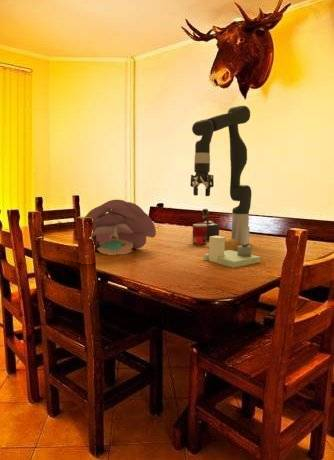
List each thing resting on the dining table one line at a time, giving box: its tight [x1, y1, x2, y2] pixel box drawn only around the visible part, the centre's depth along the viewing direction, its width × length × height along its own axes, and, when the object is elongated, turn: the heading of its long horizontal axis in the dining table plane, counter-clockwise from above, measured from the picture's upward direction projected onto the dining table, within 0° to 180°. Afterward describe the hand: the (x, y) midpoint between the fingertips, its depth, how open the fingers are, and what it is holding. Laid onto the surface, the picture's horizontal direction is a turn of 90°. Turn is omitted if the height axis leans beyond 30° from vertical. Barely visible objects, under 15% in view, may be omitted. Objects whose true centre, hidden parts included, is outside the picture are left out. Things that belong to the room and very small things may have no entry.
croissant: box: [224, 237, 249, 252], centre depth 182 cm, size 21×10×8 cm, turn 103°
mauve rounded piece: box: [84, 199, 157, 256], centre depth 178 cm, size 35×24×28 cm
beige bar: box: [208, 235, 228, 264], centre depth 159 cm, size 4×6×11 cm
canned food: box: [192, 223, 208, 246], centre depth 201 cm, size 8×8×11 cm
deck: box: [203, 243, 261, 269], centre depth 159 cm, size 17×18×8 cm
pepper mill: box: [199, 208, 220, 242], centre depth 220 cm, size 16×11×18 cm
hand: (201, 195), depth 177 cm, fingers open, 8 cm apart
